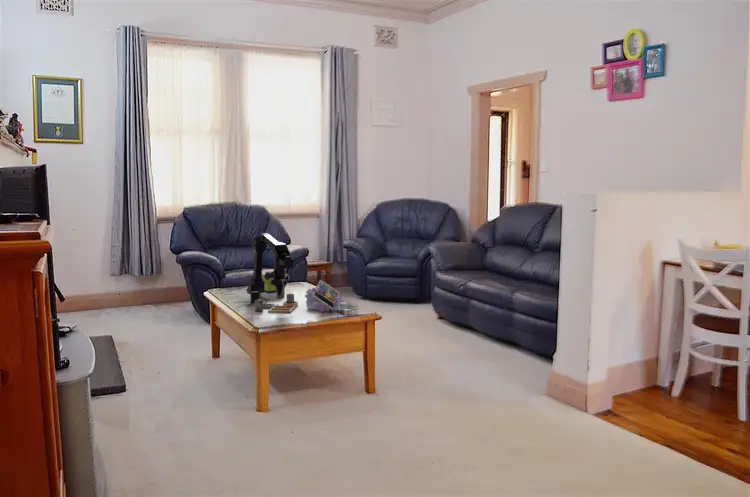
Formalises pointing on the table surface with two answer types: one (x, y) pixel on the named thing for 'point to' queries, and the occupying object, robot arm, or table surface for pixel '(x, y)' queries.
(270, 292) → the tea box
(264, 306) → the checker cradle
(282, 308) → the trough board
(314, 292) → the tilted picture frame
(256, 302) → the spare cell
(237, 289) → the table surface
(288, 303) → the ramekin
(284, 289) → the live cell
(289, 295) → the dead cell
